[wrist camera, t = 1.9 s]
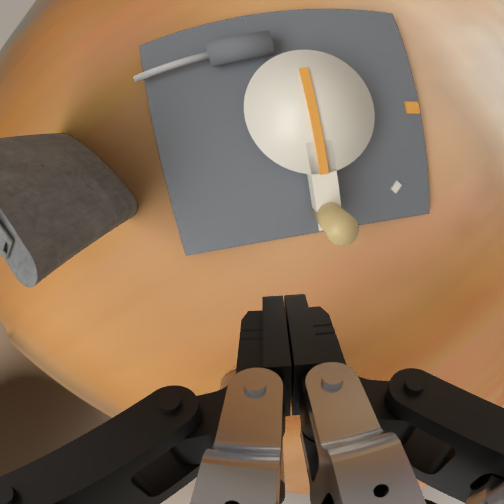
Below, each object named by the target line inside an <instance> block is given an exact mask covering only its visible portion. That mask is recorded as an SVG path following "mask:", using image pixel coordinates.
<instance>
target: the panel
mask: <svg viewBox="0 0 504 504" xmlns="http://www.w3.org/2000/svg"><path fill="white" fill-rule="evenodd" d="M268 30H269V32H270V34H271V38H272V42H273V47H274V55H272V56H265V57H259V58H253V59H247V60H242V61H237V62H232V63H227V64H223V65H218V66H214V67H212V65H211V62H210V59H205V60H201V61H197V62H194V63H190V64H187V65H183V66H180V67H177V68H174V69H171V70H168V71H165V72H162V73H159V74H156V75H153V76H151V77H148V78H145V79H144V80H145V86H146V92H147V98H148V103H149V108H150V113H151V118H152V123H153V128H154V133H155V138H156V142H157V147H158V151H159V156H160V160H161V164H162V169H163V173H164V177H165V181H166V185H167V189H168V193H169V197H170V201H171V205H172V208H173V212H174V216H175V219H176V223H177V227H178V230H179V234H180V237H181V241H182V244H183V248H184V251H185V254H186V256H188V255H193V254H199V253H204V252H210V251H215V250H221V249H226V248H232V247H237V246H243V245H248V244H254V243H259V242H265V241H271V240H276V239H282V238H288V237H293V236H299V235H305V234H311V233H316V232H322V231H323V229H322V228H321V226H320V225H319V224H318V222H317V221H316V219H315V218H314V217H313V215H312V203H311V196H310V190H309V183H308V177H307V174H304V173H298V172H295V171H292V170H289V169H287V168H284V167H282V166H280V165H279V164H277V163H275V162H274V161H272V160H271V159H270V158H269V157H267V156H266V155H265V154H264V153H263V152H262V151H261V150H260V149H259V147H258V146H257V145H256V144H255V142H254V140H253V139H252V137H251V135H250V133H249V131H248V128H247V125H246V122H245V116H244V98H245V93H246V89H247V86H248V84H249V82H250V80H251V78H252V77H253V75H254V74H255V72H256V71H257V70H258V69H259V68H260V67H261V66H262V65H263V64H264V63H265V62H267V61H268V60H270V59H271V58H273V57H275V56H277V55H279V54H281V53H285V52H288V51H293V50H316V51H320V52H324V53H327V54H330V55H333V56H335V57H337V58H339V59H340V60H342V61H344V62H345V63H347V64H348V65H349V66H350V67H351V68H353V69H354V70H355V71H356V72H357V73H358V74H359V76H360V77H361V78H362V80H363V81H364V82H365V84H366V86H367V88H368V90H369V92H370V94H371V97H372V101H373V104H374V111H375V122H374V129H373V133H372V136H371V139H370V141H369V143H368V145H367V146H366V148H365V150H364V151H363V152H362V153H361V155H360V156H359V157H358V158H357V159H356V160H354V161H353V162H352V163H350V164H349V165H348V166H346V167H344V168H342V169H340V170H337V177H338V184H339V192H340V200H341V208H342V209H344V210H345V211H346V212H347V213H349V214H350V215H351V216H352V217H354V218H355V220H356V221H357V223H358V225H363V224H369V223H375V222H381V221H387V220H393V219H399V218H405V217H411V216H417V215H423V214H429V185H428V170H427V159H426V149H425V141H424V134H423V127H422V121H421V115H420V109H419V104H418V99H417V94H416V90H415V85H414V81H413V77H412V73H411V69H410V66H409V62H408V58H407V55H406V52H405V48H404V45H403V42H402V39H401V36H400V33H399V30H398V28H397V25H396V22H395V20H394V17H393V14H392V13H384V12H375V11H365V10H350V9H303V10H288V11H277V12H268V13H260V14H254V15H247V16H241V17H236V18H231V19H226V20H221V21H217V22H213V23H208V24H204V25H201V26H197V27H193V28H190V29H186V30H183V31H180V32H177V33H173V34H170V35H167V36H165V37H162V38H159V39H156V40H153V41H151V42H148V43H146V44H143V45H141V46H139V48H140V55H141V62H142V68H143V72H144V71H147V70H150V69H152V68H155V67H158V66H161V65H164V64H167V63H170V62H173V61H176V60H179V59H182V58H185V57H189V56H192V55H196V54H199V53H203V52H207V47H206V42H210V41H214V40H218V39H223V38H227V37H232V36H237V35H242V34H248V33H254V32H260V31H268Z"/></svg>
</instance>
